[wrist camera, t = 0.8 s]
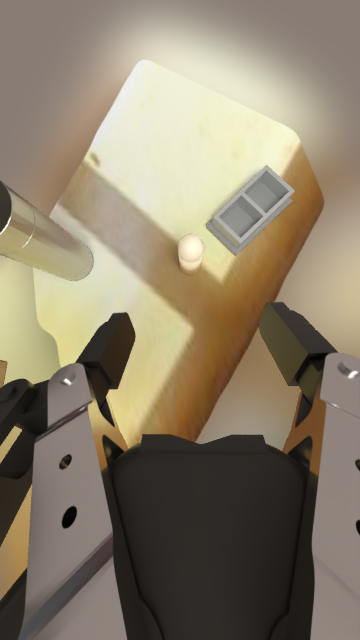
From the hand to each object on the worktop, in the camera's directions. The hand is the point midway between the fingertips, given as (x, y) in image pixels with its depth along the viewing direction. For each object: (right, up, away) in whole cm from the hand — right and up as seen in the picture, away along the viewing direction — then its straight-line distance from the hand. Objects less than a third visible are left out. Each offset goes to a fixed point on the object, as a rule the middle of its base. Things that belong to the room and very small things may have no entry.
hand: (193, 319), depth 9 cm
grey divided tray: (+14, +24, +26) cm, 38 cm away
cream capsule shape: (+2, +13, +27) cm, 29 cm away
